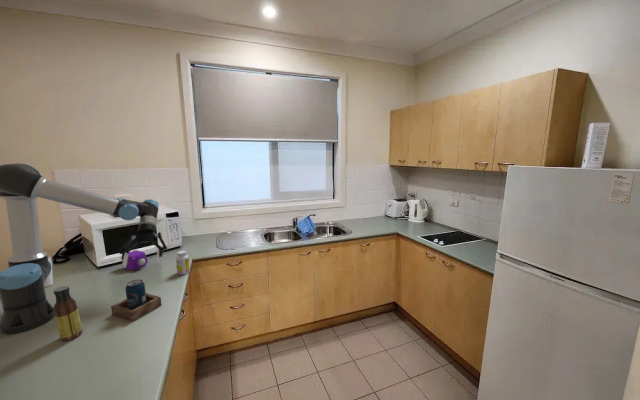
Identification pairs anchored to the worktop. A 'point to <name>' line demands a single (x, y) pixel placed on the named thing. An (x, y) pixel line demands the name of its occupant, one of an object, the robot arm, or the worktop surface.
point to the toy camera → (136, 260)
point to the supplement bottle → (182, 263)
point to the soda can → (135, 294)
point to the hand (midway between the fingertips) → (141, 264)
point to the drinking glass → (50, 278)
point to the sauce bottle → (66, 314)
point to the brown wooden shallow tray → (131, 315)
